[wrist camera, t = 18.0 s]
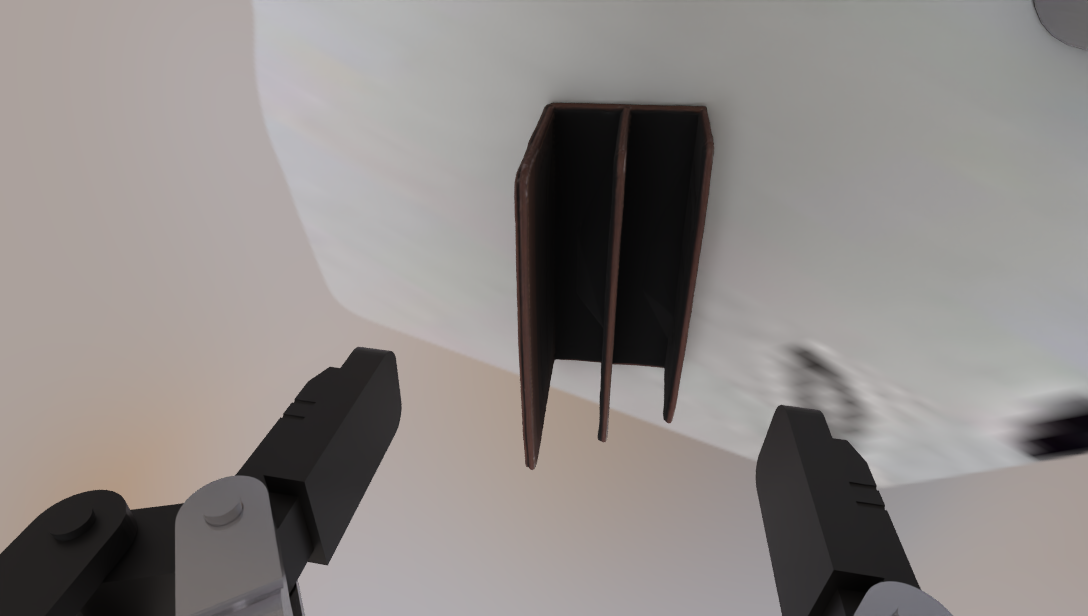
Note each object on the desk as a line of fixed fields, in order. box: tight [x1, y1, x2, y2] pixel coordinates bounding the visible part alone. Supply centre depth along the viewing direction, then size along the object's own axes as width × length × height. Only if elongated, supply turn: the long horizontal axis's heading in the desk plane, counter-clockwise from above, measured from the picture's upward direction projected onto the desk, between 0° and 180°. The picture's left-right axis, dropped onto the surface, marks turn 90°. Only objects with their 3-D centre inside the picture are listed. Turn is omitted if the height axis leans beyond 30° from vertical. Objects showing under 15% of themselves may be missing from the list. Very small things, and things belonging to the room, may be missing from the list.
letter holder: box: [514, 103, 714, 470], centre depth 35 cm, size 10×20×14 cm, turn 1°
